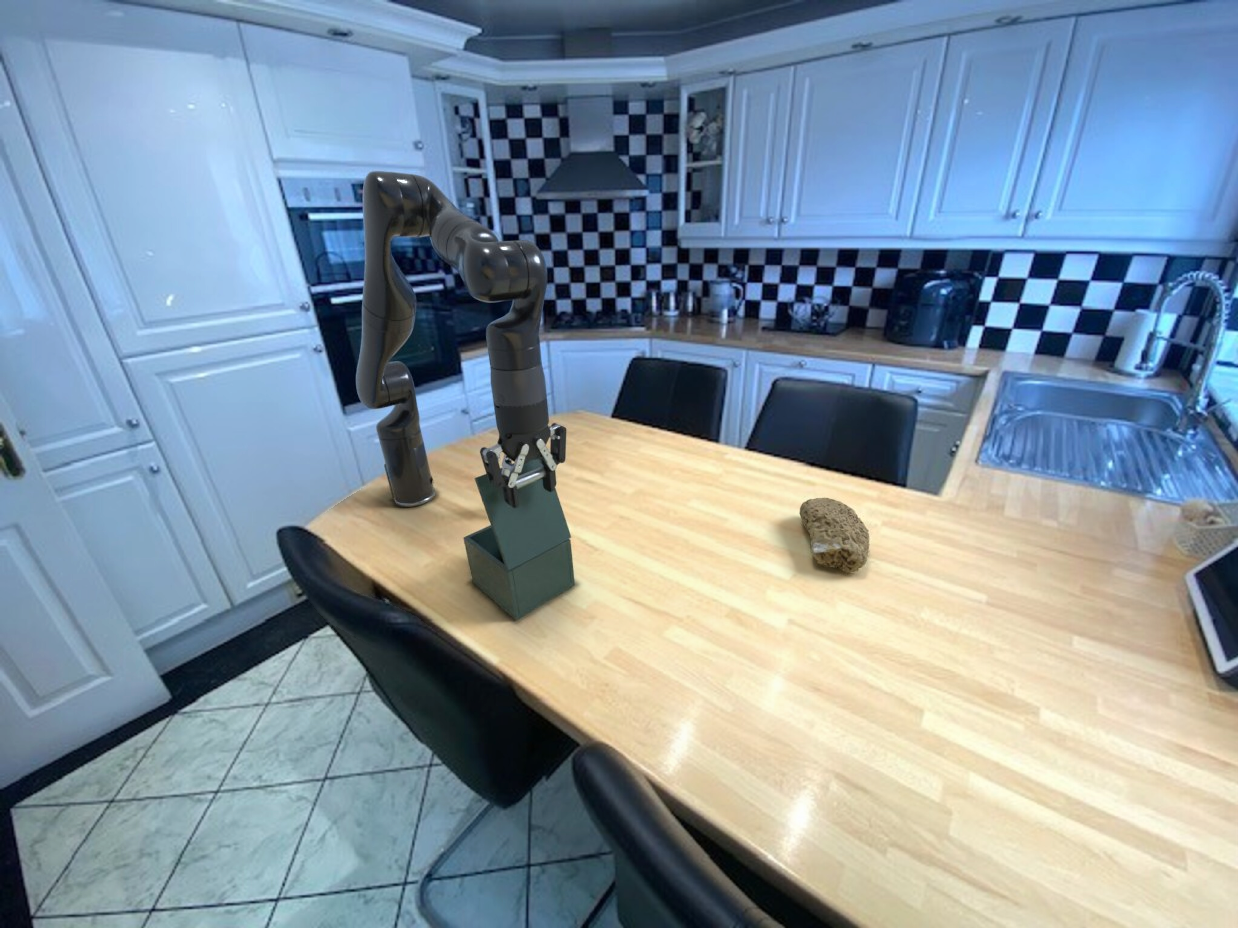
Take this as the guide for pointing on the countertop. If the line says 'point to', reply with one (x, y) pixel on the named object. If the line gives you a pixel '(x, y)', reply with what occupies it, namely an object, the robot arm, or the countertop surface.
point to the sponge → (835, 534)
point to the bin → (518, 574)
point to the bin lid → (524, 516)
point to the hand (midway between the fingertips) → (531, 497)
